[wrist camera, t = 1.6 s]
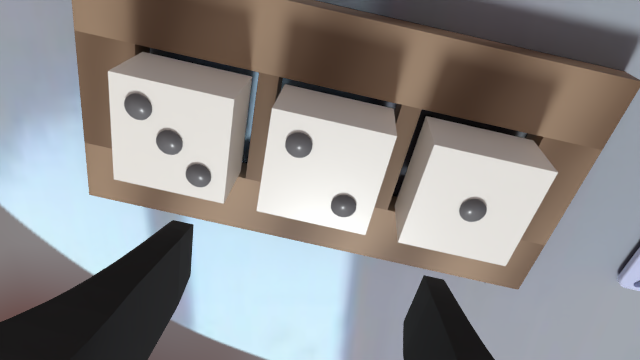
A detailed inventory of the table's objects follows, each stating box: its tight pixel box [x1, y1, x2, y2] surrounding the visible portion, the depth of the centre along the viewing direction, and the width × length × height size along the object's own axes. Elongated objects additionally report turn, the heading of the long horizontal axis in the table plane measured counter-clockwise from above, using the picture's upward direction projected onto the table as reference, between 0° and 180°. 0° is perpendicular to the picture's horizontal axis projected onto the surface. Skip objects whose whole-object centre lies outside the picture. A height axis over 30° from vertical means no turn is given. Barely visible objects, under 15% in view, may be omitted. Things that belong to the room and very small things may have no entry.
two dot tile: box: [257, 84, 397, 235], centre depth 20 cm, size 5×5×3 cm
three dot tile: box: [108, 52, 252, 204], centre depth 19 cm, size 5×5×3 cm
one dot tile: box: [395, 116, 558, 266], centre depth 20 cm, size 5×5×3 cm
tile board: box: [72, 0, 640, 289], centre depth 21 cm, size 24×12×2 cm, turn 79°
